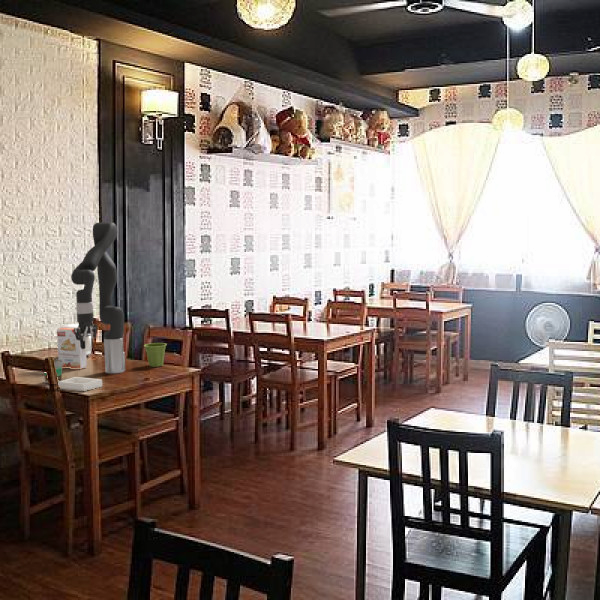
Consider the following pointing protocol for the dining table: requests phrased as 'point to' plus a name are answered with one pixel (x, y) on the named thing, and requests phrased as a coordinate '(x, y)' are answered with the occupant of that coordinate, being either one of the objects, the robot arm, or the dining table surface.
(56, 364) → the food container
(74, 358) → the cracker box
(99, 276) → the robot arm
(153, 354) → the plant pot
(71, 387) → the tray
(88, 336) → the shaker
